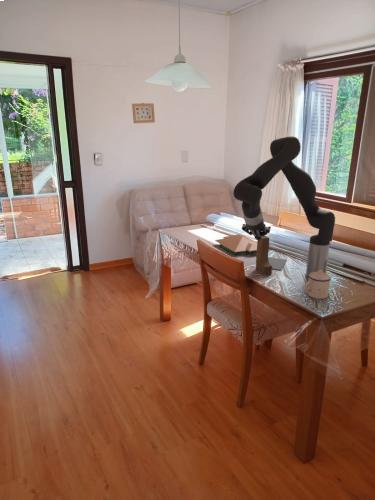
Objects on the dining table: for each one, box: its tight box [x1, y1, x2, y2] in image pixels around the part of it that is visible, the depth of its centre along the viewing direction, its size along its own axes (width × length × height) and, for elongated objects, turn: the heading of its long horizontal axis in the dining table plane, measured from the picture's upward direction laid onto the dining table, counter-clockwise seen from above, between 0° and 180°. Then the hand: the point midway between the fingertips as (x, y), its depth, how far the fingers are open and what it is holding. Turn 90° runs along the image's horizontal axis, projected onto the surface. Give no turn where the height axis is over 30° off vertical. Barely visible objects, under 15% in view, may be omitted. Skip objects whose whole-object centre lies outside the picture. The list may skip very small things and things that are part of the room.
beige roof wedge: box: [214, 233, 257, 257], centre depth 226 cm, size 23×33×8 cm
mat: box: [268, 256, 288, 271], centre depth 200 cm, size 13×18×1 cm
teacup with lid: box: [304, 270, 332, 300], centre depth 159 cm, size 12×9×12 cm
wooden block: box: [255, 235, 273, 276], centre depth 185 cm, size 9×4×18 cm, turn 19°
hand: (258, 238), depth 166 cm, fingers closed
